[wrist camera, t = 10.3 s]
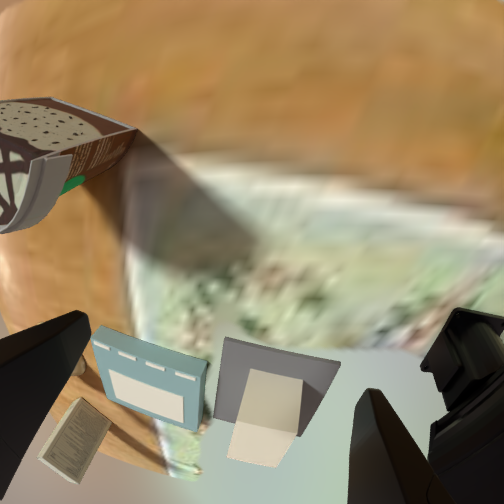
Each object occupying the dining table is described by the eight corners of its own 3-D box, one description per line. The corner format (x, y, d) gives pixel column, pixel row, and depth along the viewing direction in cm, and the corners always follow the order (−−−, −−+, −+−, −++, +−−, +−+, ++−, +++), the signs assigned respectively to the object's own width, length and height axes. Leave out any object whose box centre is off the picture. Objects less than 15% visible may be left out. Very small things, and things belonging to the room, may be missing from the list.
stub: (303, 380, 24) (297, 433, 19) (283, 422, 27) (276, 468, 22) (250, 368, 24) (235, 420, 19) (239, 412, 27) (226, 457, 22)
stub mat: (340, 361, 23) (340, 365, 22) (300, 433, 28) (300, 436, 28) (225, 336, 24) (223, 339, 23) (214, 414, 29) (213, 417, 29)
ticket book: (207, 361, 25) (200, 378, 23) (202, 418, 30) (196, 433, 28) (101, 325, 26) (89, 338, 25) (114, 386, 31) (106, 399, 29)
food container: (27, 160, 20) (-62, 195, 12) (40, 93, 18) (-60, 108, 9) (131, 216, 21) (34, 285, 12) (155, 136, 18) (39, 165, 9)
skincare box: (72, 401, 36) (34, 456, 26) (81, 395, 35) (40, 456, 24) (103, 426, 38) (70, 483, 27) (114, 423, 36) (79, 485, 25)
